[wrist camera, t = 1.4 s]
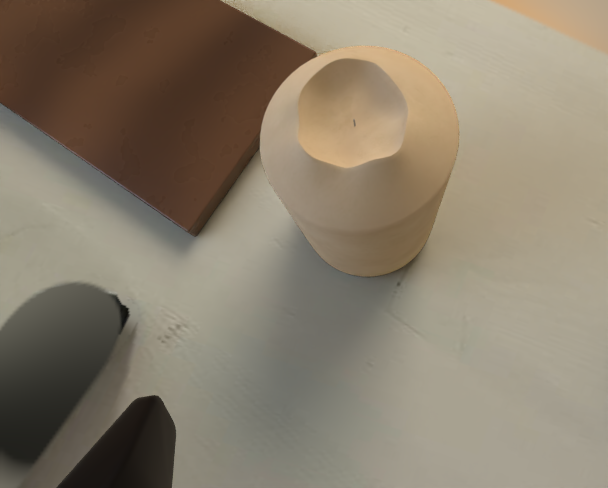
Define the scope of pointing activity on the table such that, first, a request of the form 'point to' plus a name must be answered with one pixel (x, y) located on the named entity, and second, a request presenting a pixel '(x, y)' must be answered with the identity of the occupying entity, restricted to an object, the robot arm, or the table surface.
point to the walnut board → (147, 90)
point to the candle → (361, 155)
